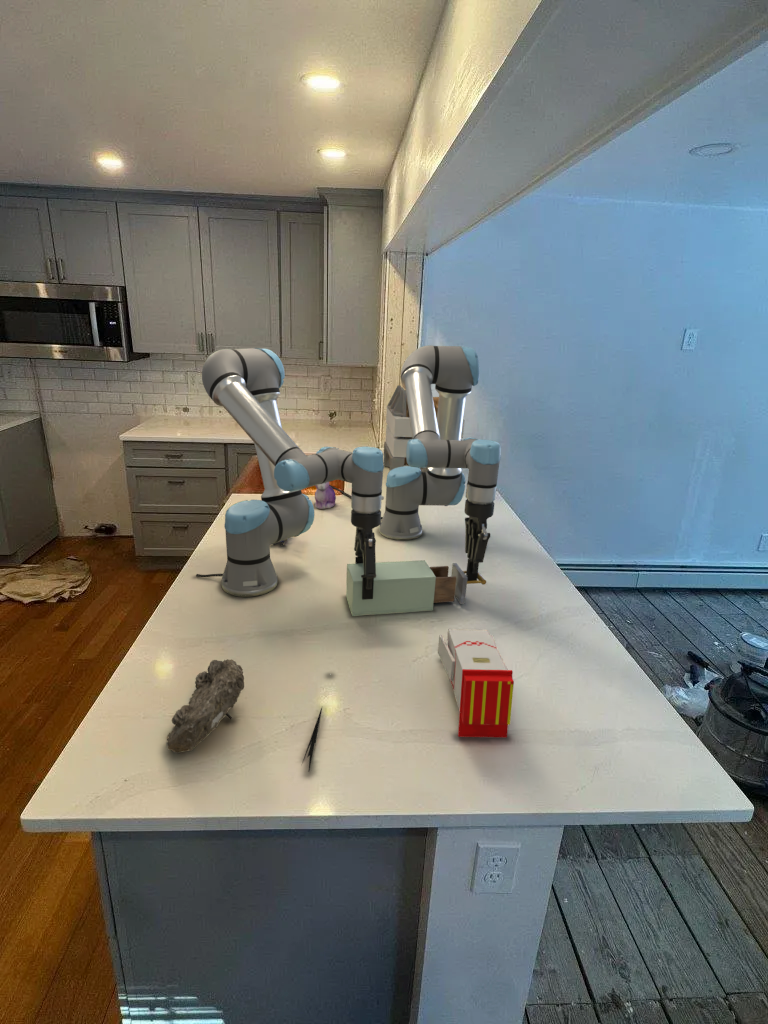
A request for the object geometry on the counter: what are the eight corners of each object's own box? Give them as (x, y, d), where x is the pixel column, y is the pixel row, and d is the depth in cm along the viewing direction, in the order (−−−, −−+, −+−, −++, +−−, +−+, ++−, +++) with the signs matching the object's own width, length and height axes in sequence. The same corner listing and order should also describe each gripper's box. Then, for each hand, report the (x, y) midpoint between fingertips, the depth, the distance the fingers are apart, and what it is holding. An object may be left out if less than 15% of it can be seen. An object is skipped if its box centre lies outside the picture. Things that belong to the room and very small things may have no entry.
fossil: (192, 660, 117) (244, 628, 112) (224, 691, 120) (276, 661, 115) (142, 746, 98) (202, 712, 93) (182, 779, 101) (242, 748, 96)
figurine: (318, 511, 218) (318, 473, 213) (309, 502, 226) (309, 466, 221) (341, 508, 222) (341, 471, 217) (331, 500, 231) (331, 464, 226)
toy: (488, 613, 130) (523, 677, 101) (484, 667, 133) (517, 744, 104) (435, 612, 130) (455, 676, 101) (432, 666, 133) (451, 743, 103)
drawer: (473, 587, 162) (476, 561, 159) (485, 602, 153) (488, 576, 151) (383, 592, 156) (385, 566, 153) (391, 608, 148) (392, 581, 145)
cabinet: (422, 592, 159) (424, 560, 156) (432, 610, 150) (435, 576, 147) (346, 597, 155) (347, 563, 151) (352, 616, 145) (353, 581, 142)
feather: (331, 679, 122) (336, 673, 122) (307, 777, 96) (313, 769, 95) (324, 675, 122) (329, 669, 121) (298, 772, 95) (304, 764, 95)
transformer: (382, 463, 289) (386, 382, 275) (445, 464, 293) (451, 384, 279) (390, 482, 257) (394, 392, 243) (460, 483, 261) (468, 394, 247)
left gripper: (391, 525, 132) (386, 609, 139) (372, 494, 153) (369, 569, 160) (359, 526, 130) (356, 611, 138) (344, 495, 151) (343, 570, 159)
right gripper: (503, 508, 142) (492, 592, 150) (484, 492, 154) (475, 570, 162) (475, 508, 141) (466, 593, 149) (458, 492, 153) (450, 572, 161)
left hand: (363, 588), depth 149 cm, fingers closed on cabinet, 10 cm apart
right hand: (471, 581), depth 155 cm, fingers closed
